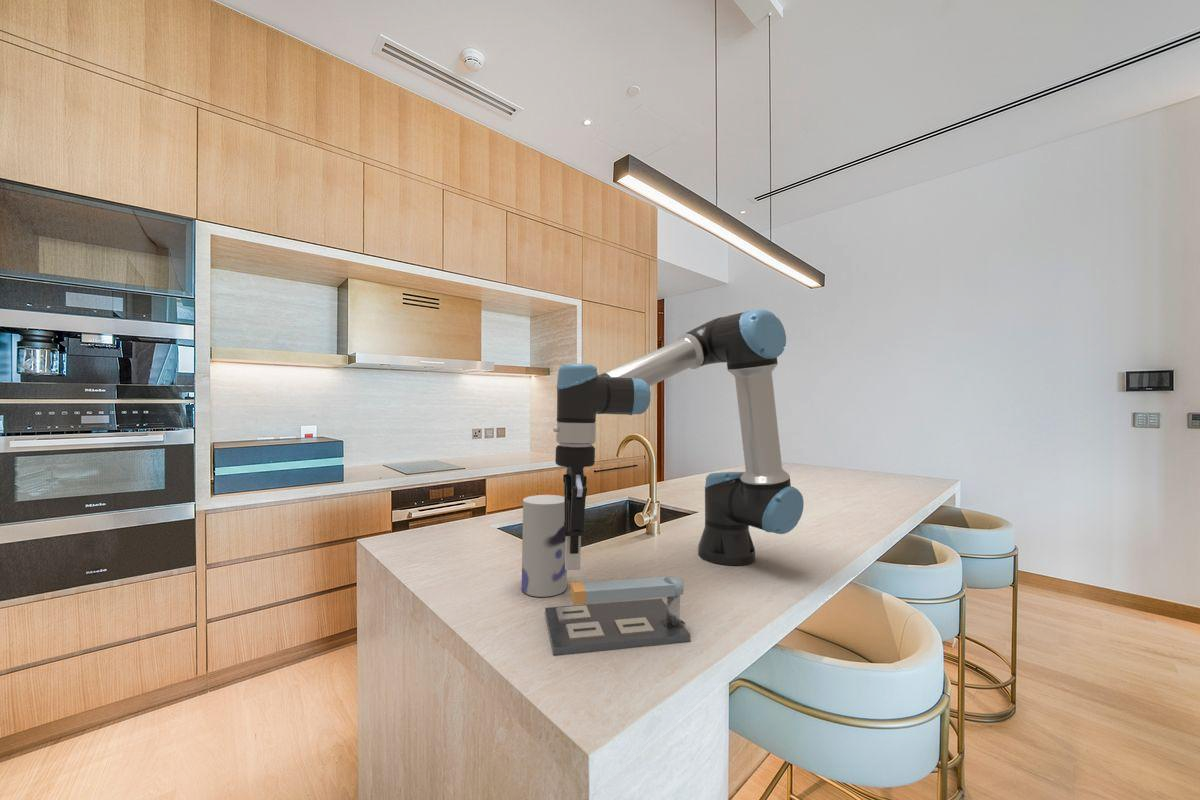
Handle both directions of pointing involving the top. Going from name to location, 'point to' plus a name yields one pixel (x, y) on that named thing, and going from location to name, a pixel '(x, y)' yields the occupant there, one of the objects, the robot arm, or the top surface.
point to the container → (543, 546)
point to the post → (673, 612)
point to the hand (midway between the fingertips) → (572, 568)
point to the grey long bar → (625, 589)
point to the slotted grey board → (611, 626)
